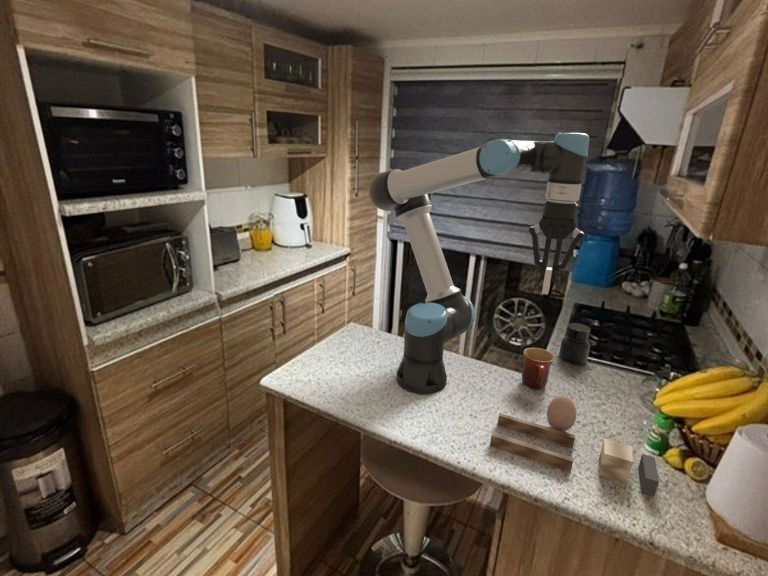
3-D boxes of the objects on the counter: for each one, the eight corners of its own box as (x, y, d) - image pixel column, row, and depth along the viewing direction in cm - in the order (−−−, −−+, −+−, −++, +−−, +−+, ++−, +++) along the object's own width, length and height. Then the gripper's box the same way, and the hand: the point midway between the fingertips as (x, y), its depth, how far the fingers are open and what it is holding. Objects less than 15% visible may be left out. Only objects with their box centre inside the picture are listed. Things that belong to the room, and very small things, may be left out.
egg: (577, 429, 107) (584, 397, 104) (565, 441, 103) (573, 408, 99) (551, 417, 112) (557, 385, 108) (539, 428, 107) (545, 395, 104)
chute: (489, 445, 100) (491, 435, 99) (498, 422, 109) (499, 413, 108) (570, 472, 93) (573, 461, 92) (572, 445, 101) (575, 435, 100)
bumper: (641, 492, 88) (645, 477, 87) (638, 467, 95) (642, 453, 94) (654, 496, 87) (659, 481, 86) (650, 471, 94) (654, 457, 93)
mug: (517, 375, 131) (522, 346, 128) (546, 379, 130) (551, 349, 126) (521, 396, 120) (526, 365, 117) (553, 401, 119) (559, 369, 115)
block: (598, 475, 93) (604, 453, 91) (598, 459, 97) (604, 438, 95) (626, 484, 90) (633, 462, 88) (625, 467, 95) (631, 446, 93)
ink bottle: (591, 359, 143) (598, 328, 139) (582, 369, 137) (589, 335, 133) (563, 349, 149) (569, 319, 145) (553, 358, 143) (559, 326, 139)
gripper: (531, 200, 100) (517, 292, 108) (590, 205, 95) (571, 301, 103) (535, 197, 106) (521, 284, 114) (591, 201, 101) (573, 292, 109)
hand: (545, 292), depth 109 cm, fingers closed
